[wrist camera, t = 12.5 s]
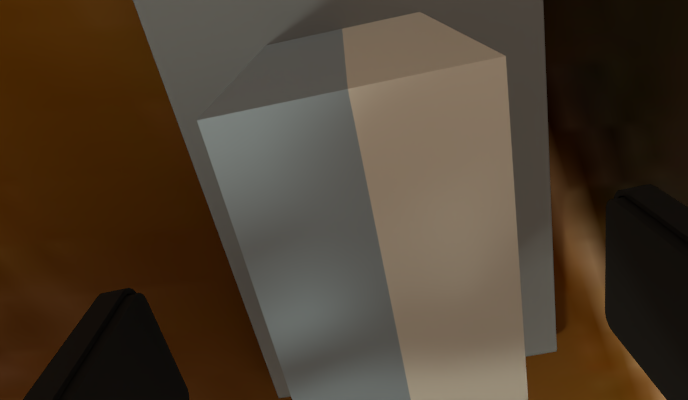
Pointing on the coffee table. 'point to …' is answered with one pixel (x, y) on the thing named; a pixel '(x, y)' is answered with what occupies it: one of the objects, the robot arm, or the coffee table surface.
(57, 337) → the coffee table surface
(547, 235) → the mat
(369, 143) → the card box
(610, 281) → the robot arm
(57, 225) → the coffee table surface
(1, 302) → the coffee table surface
